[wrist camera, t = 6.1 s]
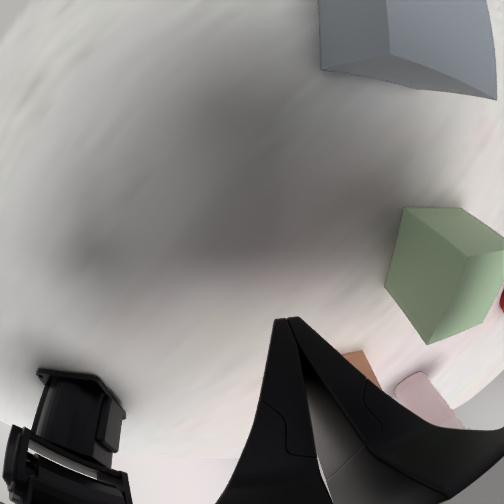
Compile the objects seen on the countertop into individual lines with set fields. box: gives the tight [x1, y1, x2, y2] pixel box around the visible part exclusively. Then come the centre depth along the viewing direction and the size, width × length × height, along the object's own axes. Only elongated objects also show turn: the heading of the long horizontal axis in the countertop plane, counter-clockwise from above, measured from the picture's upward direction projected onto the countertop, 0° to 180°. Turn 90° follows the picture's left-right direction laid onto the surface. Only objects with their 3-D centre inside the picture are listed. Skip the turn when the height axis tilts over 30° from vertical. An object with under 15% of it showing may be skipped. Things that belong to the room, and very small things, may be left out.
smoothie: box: [394, 372, 469, 430], centre depth 17 cm, size 6×6×14 cm
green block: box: [384, 207, 504, 345], centre depth 12 cm, size 5×5×5 cm
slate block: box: [318, 0, 497, 100], centre depth 6 cm, size 5×5×5 cm
